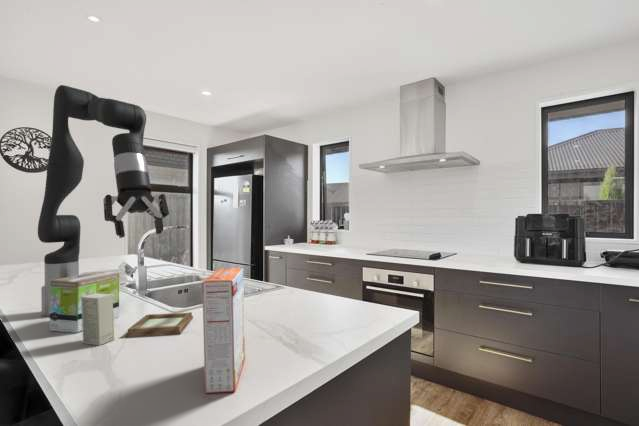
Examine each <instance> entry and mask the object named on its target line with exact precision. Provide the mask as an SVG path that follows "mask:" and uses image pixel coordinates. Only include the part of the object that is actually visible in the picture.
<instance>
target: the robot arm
mask: <svg viewBox="0 0 639 426" xmlns="http://www.w3.org/2000/svg"><path fill="white" fill-rule="evenodd" d="M52 107H53V111H52V112H53V113H52V130H51V131H52V135H51V140H50V148H49V153H48V159H47V160H48V161H47V167H46V177H45V178H46V180H45V187H44V188H45V189H44V195H43V196H44V197H43V201H42V205H41V210H40V215H39V219H38V224H37V237H38V240H39V241H40V242H42V243H44V244H51V243H63V245H62V246H61V247H60V248H58V249H56V250H55V251H51V252H49V253H47V254H45V255H44V259H43V260H44V263H43V264H44V266H43V267H44V285H43V286H41V291H40V292H41V296H40V297H41V316H44V317H50V293H51V280H55V279H61V278H66V277H71V276H77V275H80V267H79V266H80V263H79V261H80V260H79V259H80V258H79V257H80V251H81V250H80V247H81V246H80V244H81V222H80V219H79V218H78V216H77V215H75V214H58V211H59V209H60V207H61V205H62V204H63V201H65V199H66V198H67V197H68V196H69V195H70V194H71V193H73V191H74V190H75V189H76V188H77V187H78V186H79V184H80V183H81V181H82V179H83V172H84V171H83V170H84V165H85V161H84V156H83V155H82V152H81V151H80V149H79V147H78V146H77V144H76V142H75V141H74V139H73V137H72V134H71V131H70V128H69V118H72V119H77V120H81V121H87V122H89V121H96V122H98V123H101V124H103V125H104V126H107V127H111V128H115V129H120V130H126V131H128V132H123V133H118V134H115V135H114V136H113V137H112V140H111V145H112V152H113V158H114V159H113V160H114V162H113V163H114V164H113V166H114V169H113V170H114V176H115V183H116V189H117V191H116V192H117V196H116V195H111V194H106V195H105V197H104V198H103V215H104V221H106V222H112V223H113V224H114V229H115V234H116V235H115V236H117V237H118V238H119V239H123V238H124V237H125V236H126V234H125V227H124V221H123V220H122V219H123V218H124V216H125V215H126V214H127V213H130V214H135V213H142V214H143V213H145V212H146V213H147V215H149V216H151V217H152V218H153V219H154V228H155V234H156V235H161V234H162V233H163V231H164V223H163V222H164V221H163V219H165V218H167V217H168V216H169V215H170V211H169V207H168V202H167V199H166V195H165V194H164V193H161V194H159V195H153V193H152V186H151V181H150V172H149V171H150V170H149V167H148V163H147V160H146V156H145V149H144V137H145V134H144V133H145V128H146V124H147V115H146V112H145V110H144V109H143V108H142V107H141V106H139V105H137V104H134V103H128V102H126V101H121V100H117V99H113V98H105V97H99V96H98V95H96V94H94V93H92V92H90V91H87V90H83V89H80V88H76V87H71V86H69V85H65V84H64V85H63V84H61V85H59V86H57V88H56V90H55V93H54V97H53V106H52ZM116 202H117V203H118V204H119V205H120V206H121V209H120V210H119V212H118V213H117V214H116V215H114V214H113V213H114V212H113V206H114V204H115V203H116ZM153 202H156V203H155V204H158V209H159V210H158V209H157V207H156V206H155V205H154V204H153ZM146 213H145V214H146Z"/></svg>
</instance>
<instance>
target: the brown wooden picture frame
mask: <svg viewBox="0 0 639 426" xmlns="http://www.w3.org/2000/svg"><path fill="white" fill-rule="evenodd" d="M193 319H194V315H193V313H192V312H191V311H190V312H189V311H188V312H175V313H174V312H171V313H152V314H151V313H149V314H146V315H144V316H143V317H142V318H140V319H139V320H138V321H136V322H135V323H133V325H131V326H130V327H129V328H128V329H127V333H125V338H134V337H135V338H137V337H153V336H154V337H155V336H173V335H176V336H177V335H181V334H182V333H183V332H184V330H186V328H187V326H188V325H189V324H190V323H191V322H192V320H193Z"/></svg>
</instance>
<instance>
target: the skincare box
mask: <svg viewBox="0 0 639 426" xmlns="http://www.w3.org/2000/svg"><path fill="white" fill-rule="evenodd" d="M81 303H82V327H83V330H82V343H83V344H88V345H93V346H101V345H105V344H107V343H109V342H111V341H113V340H115V324H114V321H115V319H113V294H104V293H95V294H91V295H87V296H83V297H81Z"/></svg>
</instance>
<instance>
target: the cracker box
mask: <svg viewBox="0 0 639 426" xmlns="http://www.w3.org/2000/svg"><path fill="white" fill-rule="evenodd" d="M244 280H245V279H244V268H243V267H224V268H223V267H222V268H218V269H217V270H216V271H215V272H212V273H211V275H209V276H208V277H207V278H206V279H204V280H203V281H202V282H201V284H202V285H201V287H202V288H201V289H202V320H203V321H202V322H203V323H202V325H203V328H202V329H203V330H202V331H203V358H204V359H203V365H204V366H203V367H204V394H220V393H233V392H234V393H235V392H236V391H237V387H238V384H239V381H240V377H241V374H242V371H243V367H244V363H245V360H246V333H245V328H246V327H245V291H244V289H245V288H244V287H245V286H244Z"/></svg>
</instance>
